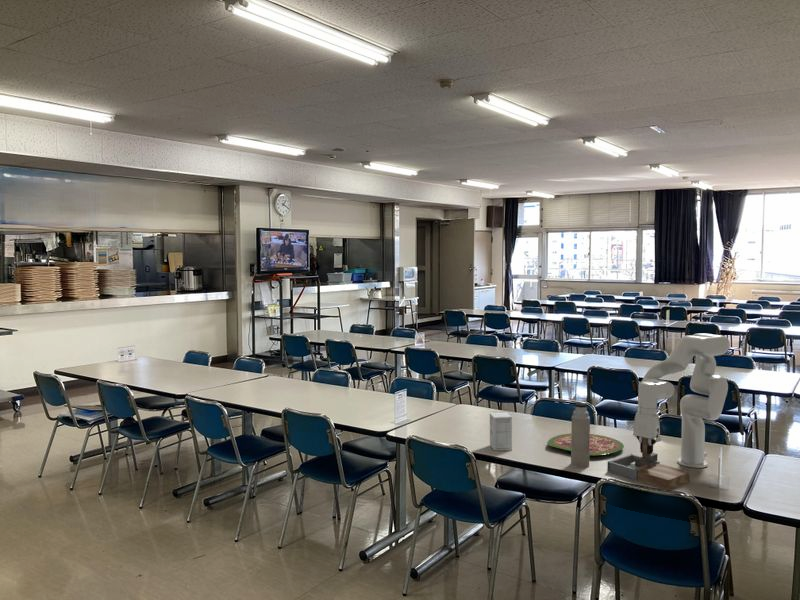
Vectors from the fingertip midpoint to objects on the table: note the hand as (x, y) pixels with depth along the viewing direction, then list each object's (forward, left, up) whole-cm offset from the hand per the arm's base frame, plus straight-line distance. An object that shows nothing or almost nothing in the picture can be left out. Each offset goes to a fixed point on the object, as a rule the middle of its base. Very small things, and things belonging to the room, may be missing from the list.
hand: (646, 452), depth 270 cm
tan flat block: (0, +8, -10) cm, 13 cm away
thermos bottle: (+11, -26, -10) cm, 30 cm away
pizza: (-14, -41, -11) cm, 45 cm away
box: (0, -6, -10) cm, 12 cm away
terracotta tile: (-3, -5, -7) cm, 9 cm away
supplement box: (+21, -66, -10) cm, 70 cm away
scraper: (0, 0, -5) cm, 5 cm away
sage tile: (+4, -1, -7) cm, 8 cm away
